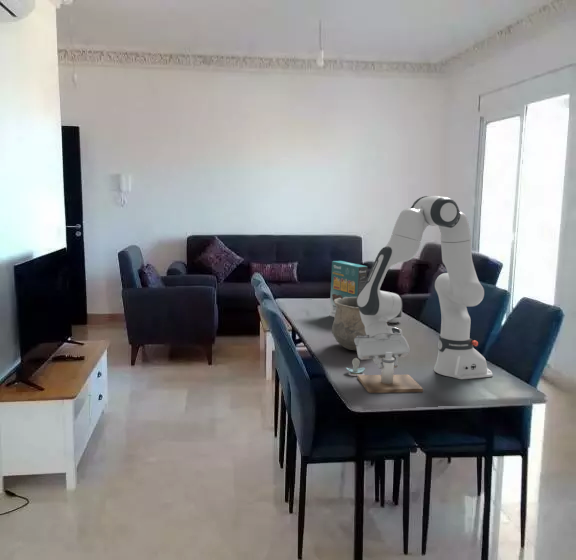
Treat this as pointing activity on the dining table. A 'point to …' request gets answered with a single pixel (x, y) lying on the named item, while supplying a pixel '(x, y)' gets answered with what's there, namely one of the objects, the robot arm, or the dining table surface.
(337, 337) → the pot
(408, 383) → the board
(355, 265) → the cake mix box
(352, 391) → the dining table surface
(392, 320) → the dark grey domed cylinder
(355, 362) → the pacifier
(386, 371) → the white bar-topped cylinder
